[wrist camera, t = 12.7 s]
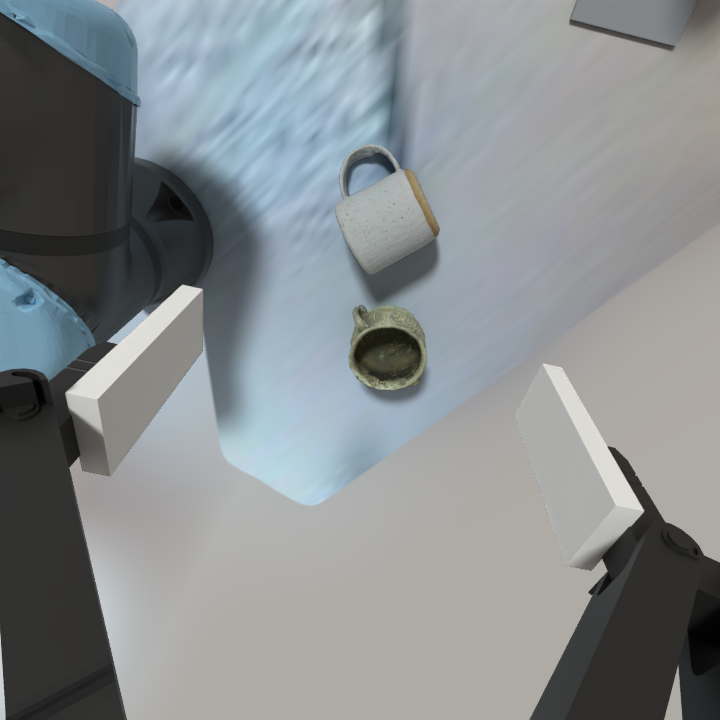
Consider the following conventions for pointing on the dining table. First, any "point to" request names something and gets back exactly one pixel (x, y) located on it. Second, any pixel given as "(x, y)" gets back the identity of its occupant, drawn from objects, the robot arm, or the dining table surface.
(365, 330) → the vessel
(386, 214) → the ceramic mug
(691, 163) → the dining table surface
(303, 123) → the dining table surface
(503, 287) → the dining table surface
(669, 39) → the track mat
